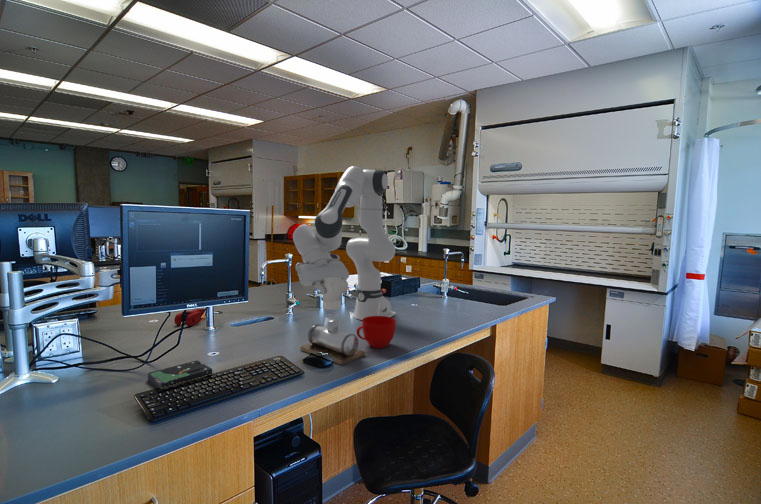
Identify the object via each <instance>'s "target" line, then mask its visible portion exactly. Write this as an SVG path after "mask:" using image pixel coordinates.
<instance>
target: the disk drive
mask: <svg viewBox="0 0 761 504" xmlns="http://www.w3.org/2000/svg"><path fill="white" fill-rule="evenodd" d="M209 374H212V375H213V368H211V367H210V366H208V365H206V364H205V363H201V361H199V360H197V359H196V360H193V361H189V362H185V363H182V364H179V365H173V366H170V367H166V368H162V369H159V370H155V371H150V372H148V373H147V381H148V382H149V383H151V384H152V385H153V386H155V387H156V388H157V389H159V388H160V387H164V386H169V385H173V384H176V383H179V382H183V381H188V380H192V379H195V378H198V377H202V376H205V375H209Z"/></svg>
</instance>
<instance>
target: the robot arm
mask: <svg viewBox="0 0 761 504" xmlns="http://www.w3.org/2000/svg"><path fill="white" fill-rule="evenodd" d="M387 175H388V174H387V173H386V172H385V171H384V170H382V169H367V168H366V169H365V168H364V169H362V168H361V167H359V166H355V165H353V166H350V167H348V168H347V169H345V171H344V172H343V174H342V175H341V177H340V179H339V180H338V182H337V185H336V187H335V189H334V192H333V195H332V196H331V197H330V200H329V202H328V203H327V205H326V206H325V208H323V210H321V211H320V212H319V213H318V214H317V215H316V217H315V219H314V226H312V225H308V224H307V223H304V224H301V225H299V226H298V227H297V228H295V230H294V231H293V233H292V240H293V243H294V245H295V248H296V250H297V252H298V253H299V254H300V255H301V259H302V262H298V263H296V264H295V266H294V268H295V271H296V272H297V276H298V278H299V282H300V285H302V286H303V287H313V286H314V288H315V289H317V290H318V291H320V294H321V295H323V294H326V293H327V290H326V288H325V287H324V277H332V276H338V277H341V279H343V280H346V281H347V280H348V279H349V277H350V272H349V271H348V269H347V267H346V265H345V264H344V263H343V261H341V260H340V259H341V257H340V256H339V255H338V254H335V253H331V252H335V251H336V250H338V249H339V248H340V247H341V244H342V240H343V239H342V237H343V236H342V235H343V233H342V232H343V231H342V230H343V229H342V228H343V213H344V211H345V208H352V207H355V206H356V205H357V204H358V203H359V207H358V208H359V213H358V214H359V220H358V221H359V223H358V225H359V227H360V228H361V229H362V230H364V231H365V233H367V237H360V236H359V237H352V238H349V240H348V241H347V242H346V247H345V252H346V254H347V256H348V257H349V258H350V259H351V260H352V262H353V263H354V266H355V268H356V271H357V289H356V299H355V308H354V311H353V317H354V318H355V319H356V320H361V321H362V320H363V318H366V317H370V316H386V317H391V318H393V317H394V316H396V315H397V313H396V312H395V311H393V310H392V304H391V302H390V301H389V300H388V299H386V297H385V296H383V295H384V294H385V293H386V292H387V290H386V288H382V289H381V287H382V285H381V284H382V281H381V279H382V275H381V272H380V271H379V269H377V268H376V267H375V266H374V263H373V262H379V263H382V262H383V263H384V262H389V261H392V259H393V258H394V257H395V254H396V247H395V244H394V242H393V241H392V240H391V239H390V238H389V237H388V236H387V233H386V231H385V228H384V223H383V222H384V221H383V197H382V196H383V194H384V192H386V191H387V188H388V186H389V185H388V183H389V181H388V180H389V179H388V176H387Z"/></svg>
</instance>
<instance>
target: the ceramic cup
mask: <svg viewBox="0 0 761 504" xmlns="http://www.w3.org/2000/svg"><path fill="white" fill-rule="evenodd" d="M361 321H362V325H360V326H358V327H357V329H356V336H357V338H359V339H361V340H364V341H366V342H367V344H368V345H369V347H372V348H374V349H375V348H376V349H383V348H386V347H387V346H388V345H389V344H390V343H391V342H392V341H393V338H394V336H395V333H396V327H397V320H396V319H395V318H393V317H386V316H370V317H366V318H363V320H361ZM361 330H362V333H363V336H361V334H360V331H361Z"/></svg>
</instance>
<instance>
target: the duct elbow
mask: <svg viewBox="0 0 761 504" xmlns="http://www.w3.org/2000/svg"><path fill="white" fill-rule="evenodd" d="M323 287H325V288H326V290H327V293H326V294H322V296H323V297H322V309H324V310H328V311H330V310H332V311H333V310H340V309H341V306H342V305H341V304H342V297H341V296H342V294H344V293H346V292H347V290H348V289H349V283H348V281H347V280H343V279H341V277H338V276H332V277H324V284H323Z"/></svg>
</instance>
